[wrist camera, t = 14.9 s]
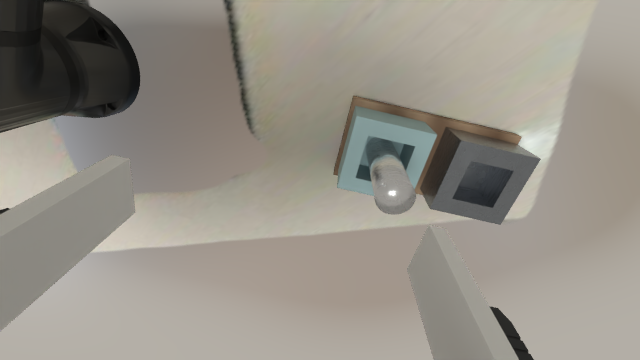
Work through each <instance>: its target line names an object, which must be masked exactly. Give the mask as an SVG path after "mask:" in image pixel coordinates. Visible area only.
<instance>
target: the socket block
mask: <svg viewBox="0 0 640 360" xmlns="http://www.w3.org/2000/svg"><path fill="white" fill-rule="evenodd" d="M539 161H540V158H538V157H537V156H535V155H534V154H532V153H530V152H529V151H527V150H525V149H524V148H522V147H520V146H519V145H517V144H516V143H513V142H509V141H504V140H500V139H496V138H491V137H487V136H483V135H479V134H474V133H470V132H466V131H461V130H457V129H453V128H449V127H446V128H445V130H444V132H443V135H442V137H441V139H440V142H439V144H438V146H437V149H436V151H435V154H434V156H433V158H432V161H431V163H430V165H429V168H428V170H427V172H426V175H425V177H424V179H423V182H422V184H421V187H420V190H421V192H422V194H423V196H424V198H425V200H426V202H427V204H428V206H429V208H430V209H433V210H438V211H442V212H447V213H451V214H455V215H460V216H464V217H469V218H473V219H477V220H482V221H486V222H491V223H495V224H499V225H500V224H501V223H502V221H503V220H504V218H505V216H506V215H507V213H508V212H509V210H510V208H511V207H512V205H513V203H514V202H515V200H516V199H517V197H518V195H519V194H520V192H521V190H522V189H523V187H524V185H525V184H526V182H527V181H528V179H529V177H530V176H531V174H532V172H533V171H534V169H535V168H536V166H537V164H538V163H539Z"/></svg>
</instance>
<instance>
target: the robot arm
mask: <svg viewBox="0 0 640 360" xmlns="http://www.w3.org/2000/svg"><path fill="white" fill-rule="evenodd" d="M139 86H140V71H139V66H138V62H137V59H136V56H135V53H134V51H133V49H132V47H131V45H130V43H129V41H128V40H127V39H126V37H125V36H124V34H123V33H122V31H121V30H120V29H119V28H118V27H117V26H116V25H115V24H114V23H113V22H112V21H111V20H110V19H109V18H107V17H106V16H105V15H104V14H102V13H101V12H99V11H97V10H96V9H94V8H92V7H89V6H87V5H84V4H80V3H75V2H68V1H60V0H54V1H46V2H44V0H0V133H1V132H5V131H8V130H12V129H15V128H19V127H22V126H26V125H29V124H33V123H36V122H40V121H43V120H47V119H50V118H53V117H57V116H61V115H64V116H77V117H91V118H100V117H107V116H110V115H113V114H116V113H120V112H122V111H124V110H125V109H127V108H128V107H129V106H130V105H131V104H132V103H133V102H134V100H135V98H136V96H137V94H138V91H139ZM134 213H135V206H134V195H133V185H132V174H131V164H130V159H128V158H124V157H119V156H114V155H110V156H109V157H107V158H105V159H103V160H101V161H99V162H97V163H95V164H94V165H92V166H90V167H88V168H86V169H84V170H82V171H80V172H79V173H77V174H75V175H73V176H71V177H69V178H67V179H65V180H64V181H62V182H60V183H58V184H56V185H54V186H52V187H51V188H49V189H47V190H45V191H43V192H41V193H39V194H37V195H36V196H34V197H32V198H30V199H28V200H26V201H24V202H23V203H21V204H19V205H17V206H15V207H13V208H11V209H9V208H6V209H3V210H0V331H1V330H2V329H3V328H4V327H6V326H7V325H8V324H9V323H10V322H11V321H13V320H14V319H15V318H16V317H17V316H18V315H19V314H21V313H22V312H23V311H24V310H25V309H26V308H27V307H28V306H29V305H31V304H32V303H33V302H34V301H35V300H36V299H37V298H39V297H40V296H41V295H42V294H43V293H44V292H45V291H47V290H48V289H49V288H50V287H51V286H52V285H53V284H55V282H57V281H58V280H59V279H60V278H61V277H62V276H64V275H65V274H66V273H67V272H68V271H69V270H70V269H72V268H73V267H74V266H75V265H76V264H77V263H78V262H79V261H81V260H82V259H83V258H84V257H85V256H86V255H87V254H89V253H90V252H91V251H92V250H93V249H94V248H95V247H96V246H98V245H99V244H100V243H101V242H102V241H103V240H104V239H106V238H107V237H108V236H109V235H110V234H111V233H112V232H113V231H115V230H116V229H117V228H118V227H119V226H120V225H121V224H123V223H124V222H125V221H126V220H127V219H128V218H129V217H130V216H132V215H133V214H134ZM407 271H408V274H409V278H410V281H411V285H412V288H413V291H414V294H415V298H416V301H417V305H418V308H419V311H420V315H421V318H422V322H423V325H424V328H425V332H426V335H427V338H428V342H429V345H430V349H431V352H432V355H433V359H434V360H534V359H533V358H532V356H531V354H529V353H528V349H527V348H526V346H525V344H524V343H523V341H521V340H520V336H519V334H518V333H517V331H516V329H515V328H514V326H513V324H512V323H511V322H510V321H509V319H508V318H507V317H506V316H505V315H504V314H503V313H502V312H501V311H500V310H499V309H498V308H494V307H490V306H489V305H488V303H487V301H486V300H485V298H484V296H483V295H482V292H481V291H480V289H479V287H478V285H477V283H476V282H475V280H474V278H473V276H472V275H471V273H470V271H469V269H468V268H467V266H466V264H465V262H464V260H463V258H462V257H461V255H460V253H459V251H458V249H457V248H456V246H455V244H454V243H453V241H452V239H451V237H450V235H449V233H448V232H447V230H446V228H443V227H438V226H433V225H429V226H428V228H427V230H426V232H425V234H424V236H423V238H422V240H421V242H420V244H419V246H418V248H417V250H416V252H415V254H414V256H413V259H412V260H411V263H410V264H409V266H408V268H407Z"/></svg>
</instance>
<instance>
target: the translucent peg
mask: <svg viewBox="0 0 640 360" xmlns="http://www.w3.org/2000/svg"><path fill="white" fill-rule="evenodd" d="M366 154H367V160H368V165H369V171H370V176H371V181H372V187H373V192H374V197H375V202H376V205H377V207H378V208H379V209H380V210H381V211H383V212H385V213H388V214H400V213H403V212H405V211H407V210H409V209H410V208H411V207H412V205H413V204H414V202H415V199H416V193H415V190H414V188H413V185H412V183H411V181H410V179H409V177H408V175H407V172H406V170H405V168H404V166H403V164H402V162H401V159H400V157H399V155H398V153H397V151H396V149H395V147H394V144H393V142H392V141H390V140H386V139H381V138H377V137H374V138H372V139H371V140H370V141H369V142H368V144H367V146H366Z"/></svg>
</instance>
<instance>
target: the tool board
mask: <svg viewBox="0 0 640 360" xmlns="http://www.w3.org/2000/svg"><path fill="white" fill-rule="evenodd" d="M355 106H359V107H363V108H367V109H372V110H376V111H380V112H384V113H389V114H393V115H397V116H402V117H406V118H410V119H414V120H419V121H423V122H426V124H427V125H428V126H429V127H430V128H431V129H432V130H433V131H434V132H435V133H436V134H437V137H436V139H435V142H434V144H433V147H432V149H431V151H430V154H429V156H428V159H427V161H426V163H425V166H424V168H423V171H422V173H421V175H420V178H419V180H418V183H417V185H416V187H415V193H417V194H421V195H423V194H422V192H421V190H420V187H421V184H422V182H423V179H424V177H425V175H426V172H427V170H428V168H429V165H430V163H431V161H432V158H433V156H434V154H435V151H436V149H437V146H438V144H439V142H440V139H441V137H442V135H443V132H444V130H445V128H446V127H449V128H453V129H457V130H461V131H466V132H470V133H474V134H479V135H483V136H487V137H491V138H496V139H500V140H504V141H509V142H513V143H516V144H517V145H518V143H519V141H520V139H521V138H522V137H521V136H519V135H517V134H514V133H510V132H506V131H502V130H497V129H493V128H489V127H485V126H480V125H476V124H472V123H468V122H463V121H459V120H455V119H450V118H446V117H442V116H438V115H433V114H429V113H425V112H421V111H416V110H412V109H408V108H404V107H399V106H395V105H391V104H387V103H382V102H378V101H374V100H369V99H365V98H361V97H357V96H353V99H352V103H351V107H350V111H349V115H348V119H347V122H346V126H345V130H344V134H343V138H342V142H341V146H340V149H339V153H338V157H337V161H336V165H335V169H334V175H338V169H339V165H340V161H341V158H342V154H343V150H344V146H345V142H346V139H347V135H348V131H349V127H350V124H351V120H352V116H353V112H354V109H355Z"/></svg>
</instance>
